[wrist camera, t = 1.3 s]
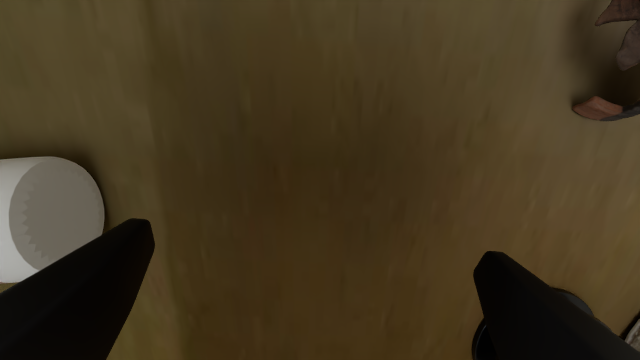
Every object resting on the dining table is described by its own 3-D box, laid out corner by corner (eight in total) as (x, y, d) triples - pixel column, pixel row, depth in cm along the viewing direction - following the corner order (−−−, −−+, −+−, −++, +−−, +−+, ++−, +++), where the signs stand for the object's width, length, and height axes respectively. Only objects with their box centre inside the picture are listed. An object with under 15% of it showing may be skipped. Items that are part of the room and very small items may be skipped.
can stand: (529, 404, 32) (555, 439, 29) (447, 356, 29) (465, 388, 26) (615, 324, 30) (654, 352, 26) (534, 265, 27) (566, 288, 24)
